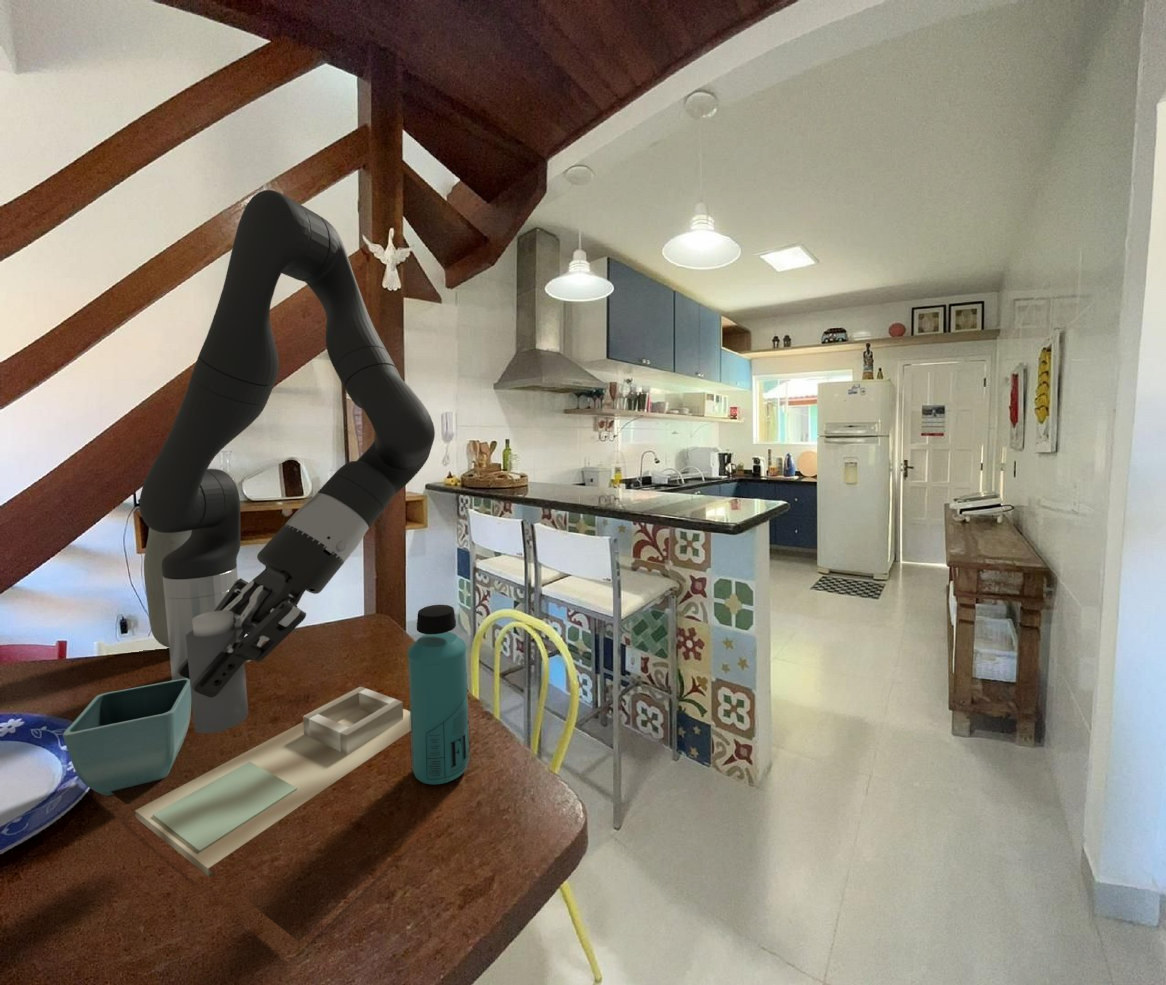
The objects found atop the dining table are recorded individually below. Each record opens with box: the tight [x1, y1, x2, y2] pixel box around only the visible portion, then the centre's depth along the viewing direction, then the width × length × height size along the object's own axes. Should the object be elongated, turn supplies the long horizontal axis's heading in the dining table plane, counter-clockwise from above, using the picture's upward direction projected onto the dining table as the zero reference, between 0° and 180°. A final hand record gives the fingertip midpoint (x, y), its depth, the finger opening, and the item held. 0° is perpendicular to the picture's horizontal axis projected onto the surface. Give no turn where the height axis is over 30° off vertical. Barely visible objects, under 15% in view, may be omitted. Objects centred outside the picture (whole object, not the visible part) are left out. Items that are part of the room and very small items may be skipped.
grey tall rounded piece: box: [143, 527, 192, 648], centre depth 87 cm, size 10×10×28 cm
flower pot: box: [62, 678, 192, 797], centre depth 54 cm, size 9×9×9 cm
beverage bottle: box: [407, 604, 471, 785], centre depth 54 cm, size 6×7×20 cm
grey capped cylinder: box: [186, 610, 249, 734], centre depth 48 cm, size 4×4×11 cm
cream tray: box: [134, 686, 411, 877], centre depth 57 cm, size 14×26×3 cm, turn 152°
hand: (194, 684), depth 47 cm, fingers closed on grey capped cylinder, 4 cm apart
